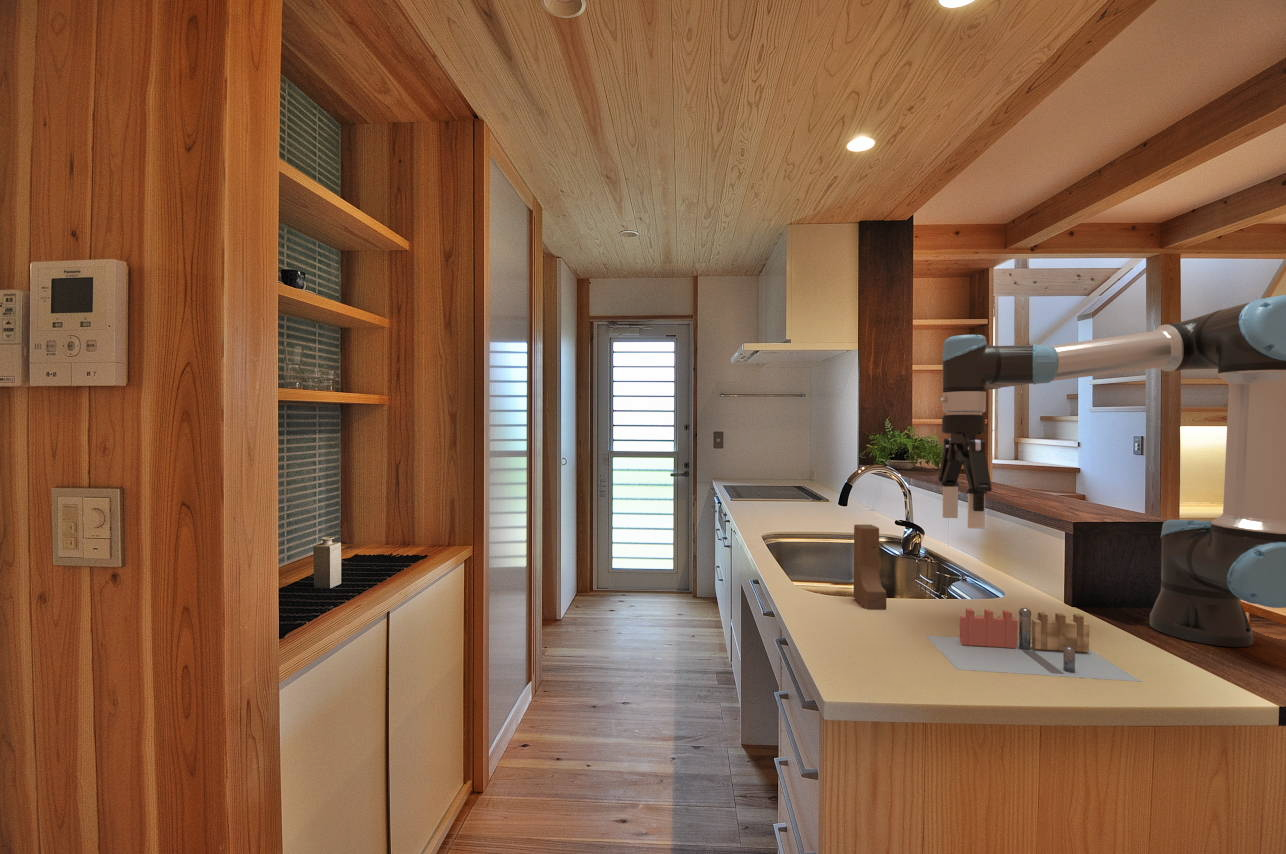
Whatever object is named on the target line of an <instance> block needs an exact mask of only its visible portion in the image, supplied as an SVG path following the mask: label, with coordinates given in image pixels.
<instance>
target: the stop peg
mask: <svg viewBox="0 0 1286 854" xmlns="http://www.w3.org/2000/svg"><path fill="white" fill-rule="evenodd" d="M1063 670H1064V671H1066V672H1069V673H1075V647H1072V646H1067V645H1065V646H1064V654H1063Z"/></svg>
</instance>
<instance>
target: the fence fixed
mask: <svg viewBox="0 0 1286 854" xmlns="http://www.w3.org/2000/svg"><path fill="white" fill-rule="evenodd" d="M1054 613H1055V614H1054V615H1055V617H1054V620H1050V619H1049V620H1048V618H1049V615H1048V614H1047V613H1045V612H1044V611H1043V612H1041V611H1039V612H1037V619H1031V642H1032V647H1033V648H1035V649H1043V650H1059V651H1064V646H1065V645H1067V646H1072V647H1075V651H1077V652H1089V649H1090V623H1087V622H1085V621H1084V619H1085V617H1084V616H1083V615H1082V614H1080V613H1078V614H1077V613H1073V615H1072V621H1066V619H1067V618H1066V617H1067V616H1066V615H1065V614H1063V613H1061V612H1054Z"/></svg>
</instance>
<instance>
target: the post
mask: <svg viewBox="0 0 1286 854" xmlns="http://www.w3.org/2000/svg"><path fill="white" fill-rule="evenodd" d="M1018 641H1019V648H1020V649H1022V650H1026V651H1029V650H1030V648H1031V642H1032V611H1031V610H1030V609H1029V608H1028V607H1025V606H1024V607H1020V608H1019V610H1018Z"/></svg>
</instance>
